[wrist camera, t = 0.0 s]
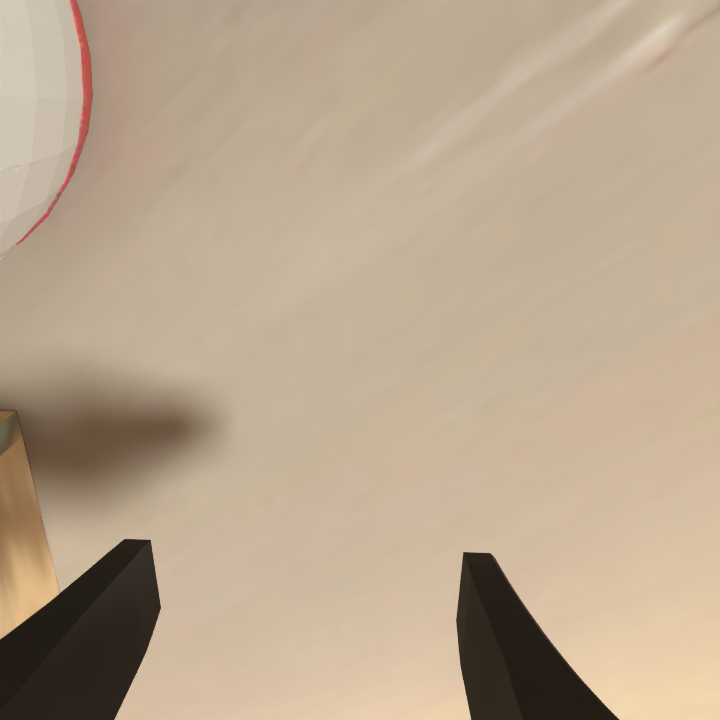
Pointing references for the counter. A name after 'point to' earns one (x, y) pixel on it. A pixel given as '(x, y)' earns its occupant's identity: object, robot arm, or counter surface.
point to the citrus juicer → (40, 109)
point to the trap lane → (20, 534)
